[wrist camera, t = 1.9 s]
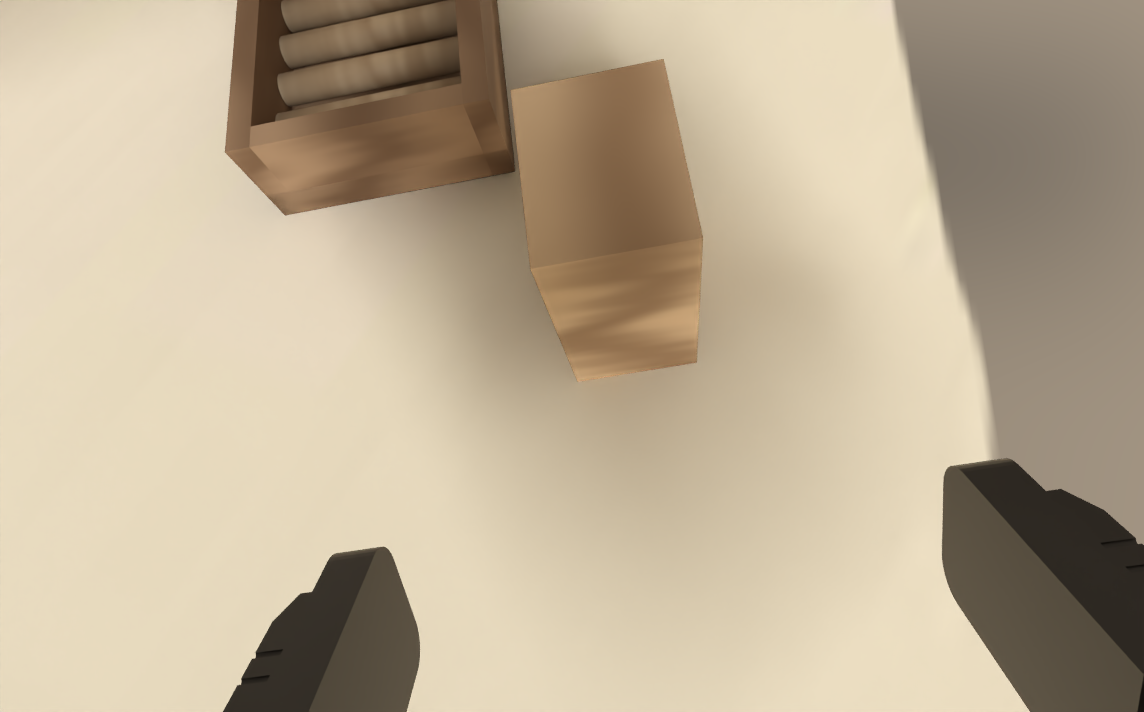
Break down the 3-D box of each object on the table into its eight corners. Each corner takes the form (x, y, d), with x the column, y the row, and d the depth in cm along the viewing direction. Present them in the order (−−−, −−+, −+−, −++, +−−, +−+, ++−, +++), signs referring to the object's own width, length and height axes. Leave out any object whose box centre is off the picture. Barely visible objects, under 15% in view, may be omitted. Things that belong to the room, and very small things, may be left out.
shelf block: (577, 381, 27) (530, 268, 18) (560, 245, 29) (510, 90, 21) (696, 362, 26) (703, 237, 18) (669, 225, 29) (663, 59, 20)
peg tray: (285, 215, 32) (225, 151, 27) (293, 16, 36) (242, -64, 32) (515, 171, 31) (488, 98, 26) (493, -28, 35) (468, -116, 31)
